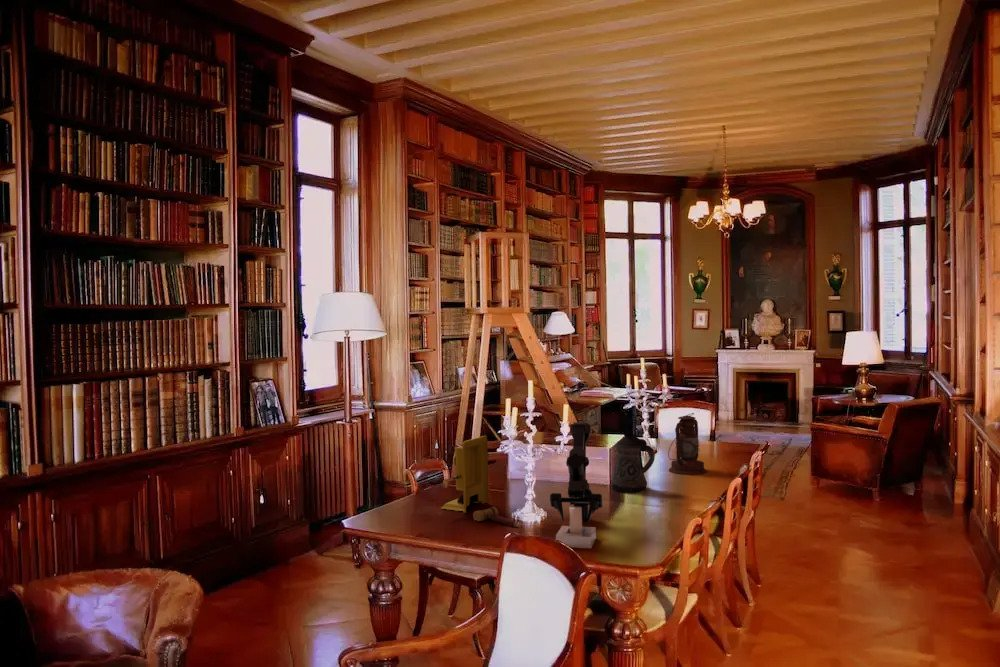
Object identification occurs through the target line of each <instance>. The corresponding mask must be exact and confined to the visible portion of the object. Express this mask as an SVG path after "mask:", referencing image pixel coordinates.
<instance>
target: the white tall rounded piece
mask: <svg viewBox="0 0 1000 667" xmlns="http://www.w3.org/2000/svg"><path fill="white" fill-rule="evenodd" d="M568 509H569V511H568V512H569V526H570V534H582V527H583V521H582V507H579V506H574V505H573V506H572V505H571V506H569V508H568Z"/></svg>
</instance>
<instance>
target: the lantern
mask: <svg viewBox="0 0 1000 667" xmlns="http://www.w3.org/2000/svg"><path fill="white" fill-rule="evenodd" d="M693 415H695V413H694V412H692V413H689V414H687V415H682V416H679V417H677V419H679V421H678V422H677V423H676V426H675V429H674V432H675V438H674V440H673V441H672V442H671V443H670V446H669V448H668V452H667V456H668V457H667V458H669V460H671V463H670V464H671V466H670V468H669V469H668V472H669V473H670V474H675V475H681V476H697V475H698V476H699V475H704V474H706V473H708V470H707V469H706V468H705V462H704V461H701V460H699V451H701V449H700V448H699V447H700V445H701V444H700V443H701V442H700V439H699V424H698V423H699V422H698V420H697V418H696V417H695V416H693ZM674 443H675V448H674V449H675V450H674V452H675V454H676V458H674V459H671V458H670V450H671V447H672V446H673V444H674Z"/></svg>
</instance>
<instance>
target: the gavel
mask: <svg viewBox="0 0 1000 667" xmlns="http://www.w3.org/2000/svg"><path fill="white" fill-rule="evenodd" d="M472 517H473V521H475V520H477V521H482V522H483V521H486V519H487V520H491V521H493V522H496V523H499V524H503V525H504V524H505V526H507V525H508V527H510V526H511V528H519V526H520V525H519V524H518V523H517V522H516V521H515V520H512V519H510V518H506V517H503V516H501V515H499V510H498V508H497V507H496V506H492V507H491V506H490V507H489V508H486V509H482V510H480V509H479V510H475V511H474V512H473V514H472Z"/></svg>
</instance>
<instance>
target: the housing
mask: <svg viewBox="0 0 1000 667" xmlns="http://www.w3.org/2000/svg"><path fill="white" fill-rule="evenodd" d="M596 539H597V530H596V526H595V527H593V526H582V534H570V525H561V526H560V529H559V530H558V531H557V533H556V534H555V541H556V540H559V541H561V542H563V543H565V544H567V545H568V546H570V547H569V548H577V549H592V547H593V545H594V544H595V541H596Z"/></svg>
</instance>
